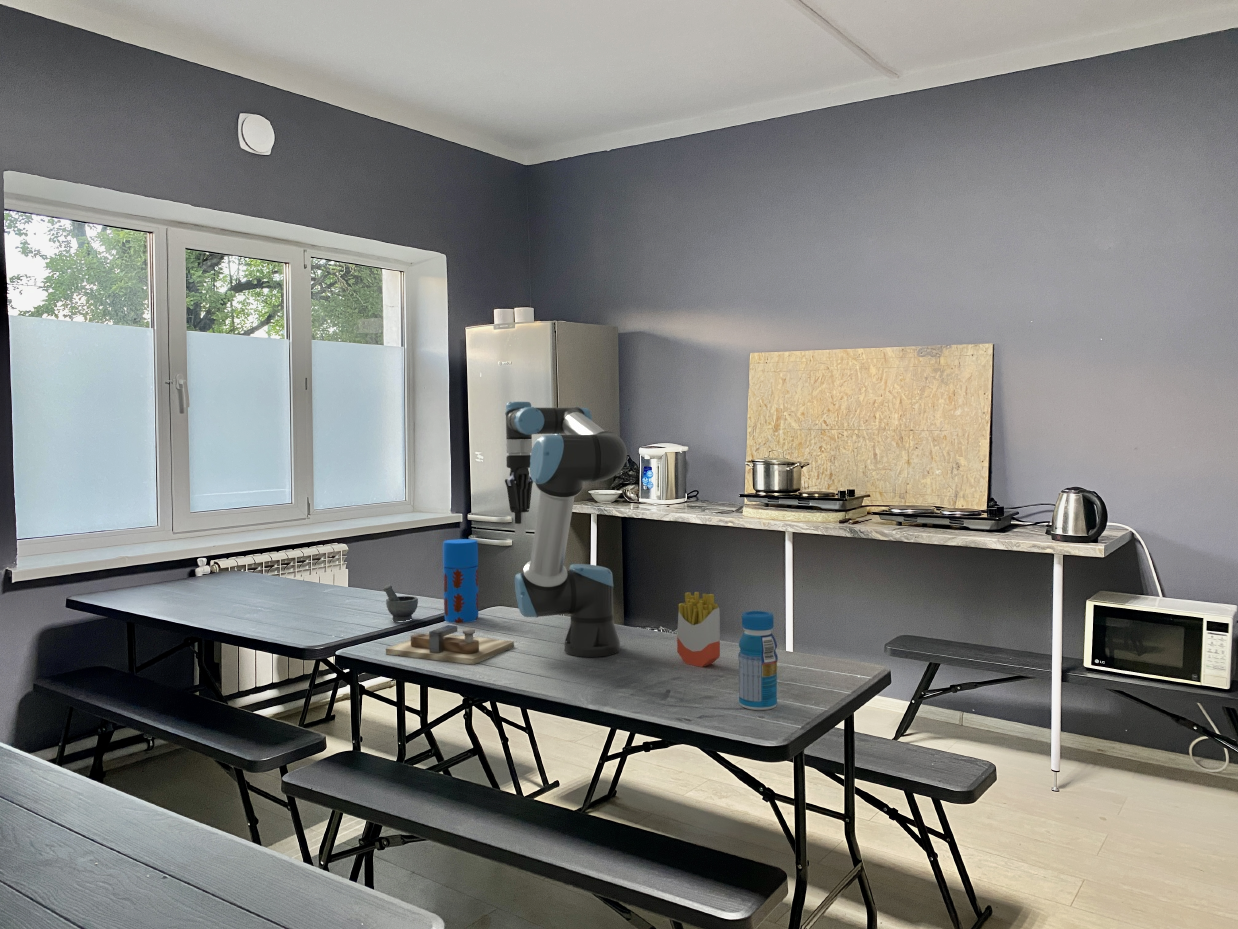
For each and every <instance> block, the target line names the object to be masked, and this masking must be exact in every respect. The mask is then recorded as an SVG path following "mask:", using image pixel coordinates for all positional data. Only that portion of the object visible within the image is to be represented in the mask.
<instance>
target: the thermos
mask: <svg viewBox="0 0 1238 929" xmlns="http://www.w3.org/2000/svg"><path fill="white" fill-rule="evenodd" d="M442 543H443V544H442V562H443V563H442V566H443V569H442V570H443V572H442V573H443V576H442V577H443V611H444V612H443V613H444V621H445V622H448V623H453V624H460V623H462V624H463V623H464V624H465V623H471V622H475V621H478V619H479V611H480V610H479V609H480V606H479V605H480V604H479V603H480V602H479V596H480V595H479V547H478V546H479V545H478V540H476V539H471V538H469V539H467V538H464V539H463V538H459V539H448V540H444V541H443V542H442Z"/></svg>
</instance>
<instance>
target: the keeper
mask: <svg viewBox="0 0 1238 929" xmlns="http://www.w3.org/2000/svg"><path fill="white" fill-rule="evenodd" d="M456 632H458V625H450V624H448V625H445V626H442V627H439V628H436V629H434V630H430V631H429V651H430V652H431V653H441V652H443V637H444V636H447V635H453V634H454V633H456Z"/></svg>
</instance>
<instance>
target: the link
mask: <svg viewBox="0 0 1238 929" xmlns="http://www.w3.org/2000/svg"><path fill="white" fill-rule="evenodd" d="M475 633H476V629H475V628H473V627H472V628H463V629H462V634H463V635H464V636H465V639H460V638H452V637H443V650H446V651H454V652H460V653H464V654H471V653H476V652H478V651H479V641H478V640H473V637H474V634H475ZM427 634H428V633H416V634H415V633H414V634H411V635H410V640H411V646H415V647H423V648H429V635H427Z"/></svg>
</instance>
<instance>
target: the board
mask: <svg viewBox="0 0 1238 929" xmlns="http://www.w3.org/2000/svg"><path fill="white" fill-rule="evenodd" d="M426 634H427V635H429V633H426ZM444 637H452V638H460V639H465V635H457V634H449V635H447V636H444ZM473 640H478V641H479V651H478V652H476V653H471V654H464V653H460V652H454V651H446V650H443V652H441V653H431V652H430V651H429V648H423V647H415V646H411V639H409V640H406V641H404V642H401V643H397V644H395V645H394V644H393V646H392V645H391V646H389V647H386V648H385V655H392V656H398V655H400V657H407V658H408V657H409V658H416V659H423V660H431V661H441V662H450V663H458V664H467V665H476V664H478V663H480V662H482V661H485V660H487V659H489V658H493V657H494V656H496V655H498V654H501V653H503V652H505V651H507V650H509V649H512V648H514V647H515V642H514V640H505V639H504V640H503V639H496V638H495V639H493V638H485V637H478V636H477V637H476V636H473Z"/></svg>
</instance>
